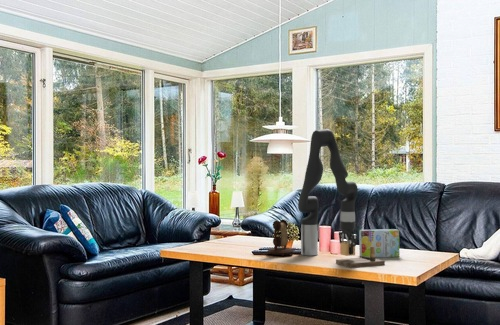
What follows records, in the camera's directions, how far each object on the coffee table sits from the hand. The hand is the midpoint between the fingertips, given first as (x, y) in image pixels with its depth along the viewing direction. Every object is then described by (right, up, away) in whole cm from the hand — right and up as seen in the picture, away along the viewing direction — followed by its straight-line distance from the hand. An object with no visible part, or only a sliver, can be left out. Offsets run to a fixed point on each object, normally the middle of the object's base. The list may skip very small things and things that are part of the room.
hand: (347, 253), depth 283 cm
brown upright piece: (-33, -6, +30) cm, 45 cm away
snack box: (+22, -6, +24) cm, 33 cm away
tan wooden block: (0, -1, 0) cm, 1 cm away
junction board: (+6, -5, -1) cm, 8 cm away
